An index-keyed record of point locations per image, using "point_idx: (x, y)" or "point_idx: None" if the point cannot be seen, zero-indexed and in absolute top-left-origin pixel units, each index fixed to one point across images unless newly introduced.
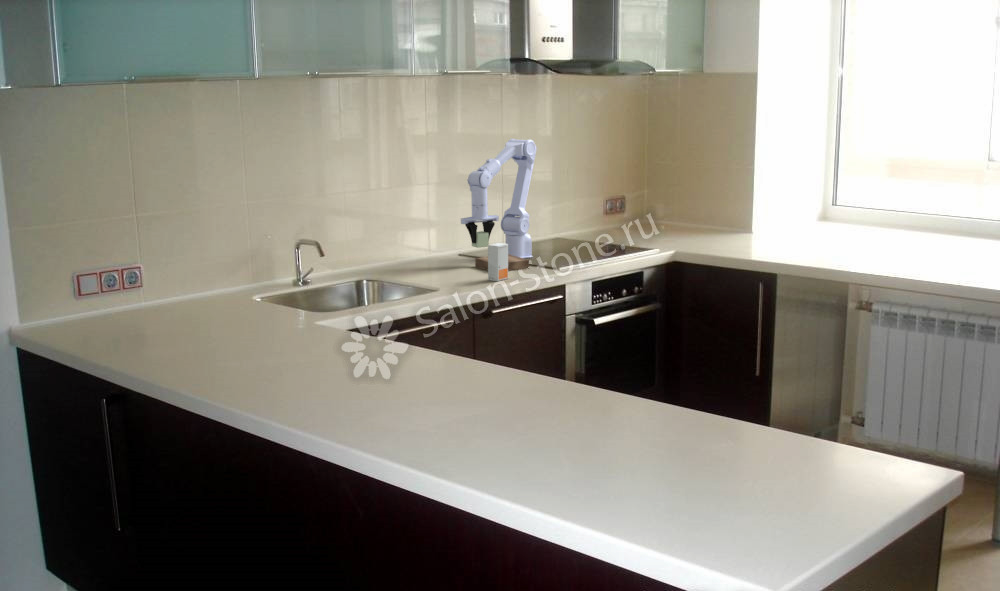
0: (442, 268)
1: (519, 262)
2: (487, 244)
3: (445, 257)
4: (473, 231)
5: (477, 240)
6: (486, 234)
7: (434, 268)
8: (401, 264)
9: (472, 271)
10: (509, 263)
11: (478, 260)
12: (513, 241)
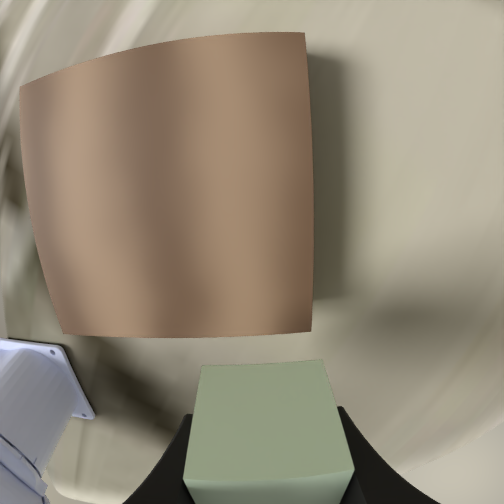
0: (452, 323)
1: (84, 65)
2: (212, 380)
3: None
4: (408, 489)
5: (337, 411)
6: (215, 465)
7: (469, 335)
8: (471, 422)
9: (396, 168)
10: (165, 45)
11: (310, 285)
12: (13, 411)
